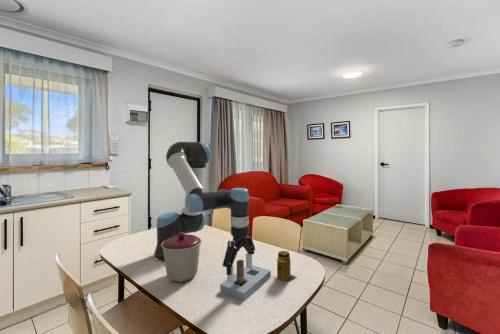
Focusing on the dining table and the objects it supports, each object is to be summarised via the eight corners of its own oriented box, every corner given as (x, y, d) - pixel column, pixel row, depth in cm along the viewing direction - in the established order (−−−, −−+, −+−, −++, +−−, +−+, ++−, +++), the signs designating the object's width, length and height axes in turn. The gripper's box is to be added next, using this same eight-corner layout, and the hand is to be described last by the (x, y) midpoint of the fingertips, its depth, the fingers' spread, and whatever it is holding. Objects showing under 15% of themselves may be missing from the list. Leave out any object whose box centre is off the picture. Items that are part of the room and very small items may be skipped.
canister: (155, 286, 106) (153, 239, 105) (170, 267, 124) (169, 226, 123) (196, 287, 106) (195, 239, 104) (205, 267, 124) (205, 226, 122)
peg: (235, 289, 104) (235, 261, 103) (239, 286, 106) (239, 259, 106) (241, 291, 102) (241, 263, 101) (245, 288, 105) (245, 261, 104)
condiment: (273, 278, 113) (273, 252, 113) (284, 271, 119) (284, 247, 118) (285, 284, 108) (285, 257, 107) (297, 277, 114) (297, 252, 113)
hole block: (220, 291, 103) (220, 284, 102) (249, 270, 121) (249, 264, 121) (243, 300, 96) (243, 293, 96) (270, 276, 114) (270, 270, 114)
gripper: (228, 235, 90) (229, 291, 91) (262, 219, 111) (262, 265, 112) (213, 231, 94) (213, 285, 96) (248, 217, 115) (249, 261, 116)
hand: (240, 274), depth 104 cm, fingers open, 13 cm apart
